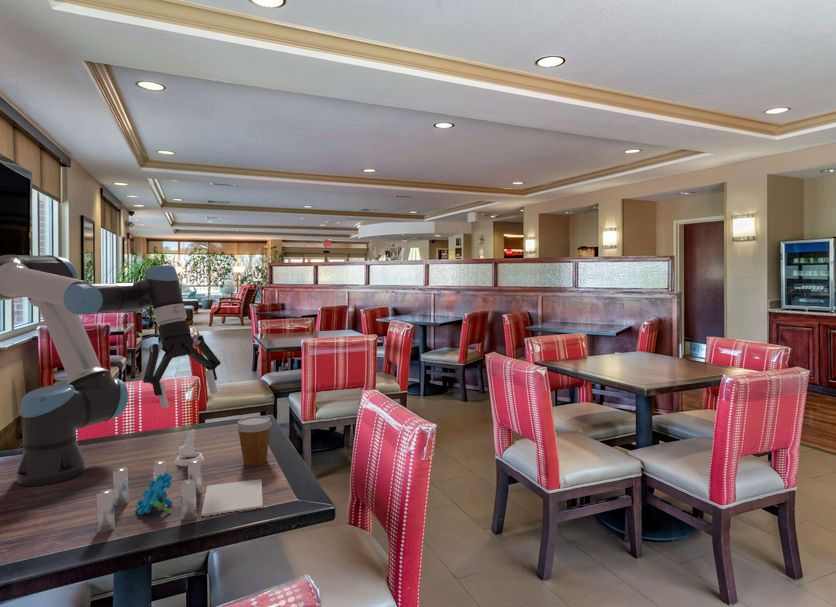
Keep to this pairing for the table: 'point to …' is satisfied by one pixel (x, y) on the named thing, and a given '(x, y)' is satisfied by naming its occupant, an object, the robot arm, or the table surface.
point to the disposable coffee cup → (254, 439)
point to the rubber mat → (232, 497)
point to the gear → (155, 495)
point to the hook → (188, 450)
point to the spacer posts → (120, 480)
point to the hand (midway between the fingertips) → (190, 400)
